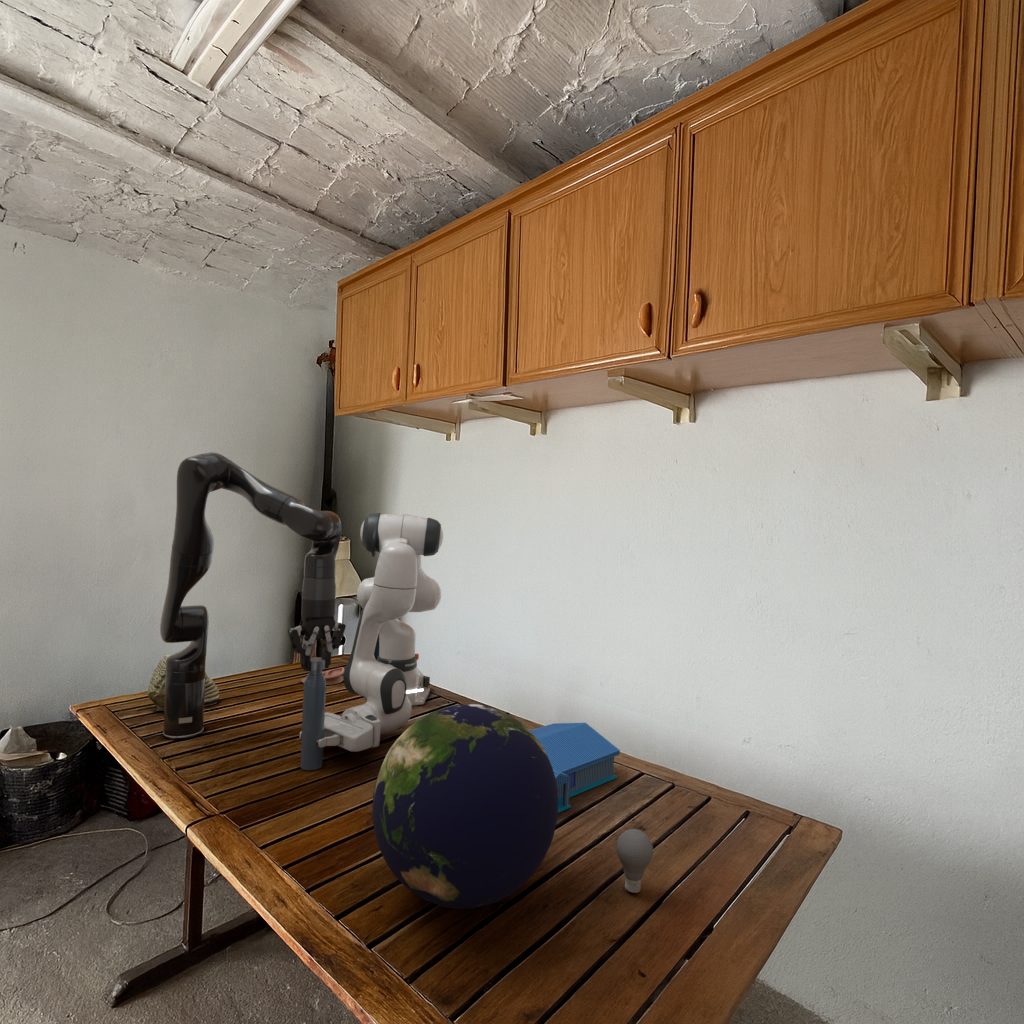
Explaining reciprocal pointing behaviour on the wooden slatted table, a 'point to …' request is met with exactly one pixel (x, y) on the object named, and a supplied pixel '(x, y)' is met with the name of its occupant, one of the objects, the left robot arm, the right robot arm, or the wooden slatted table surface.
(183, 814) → the wooden slatted table surface
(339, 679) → the anatomical model
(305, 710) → the bottle
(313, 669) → the cap
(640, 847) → the light bulb
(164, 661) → the fossil
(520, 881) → the globe
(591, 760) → the model building
